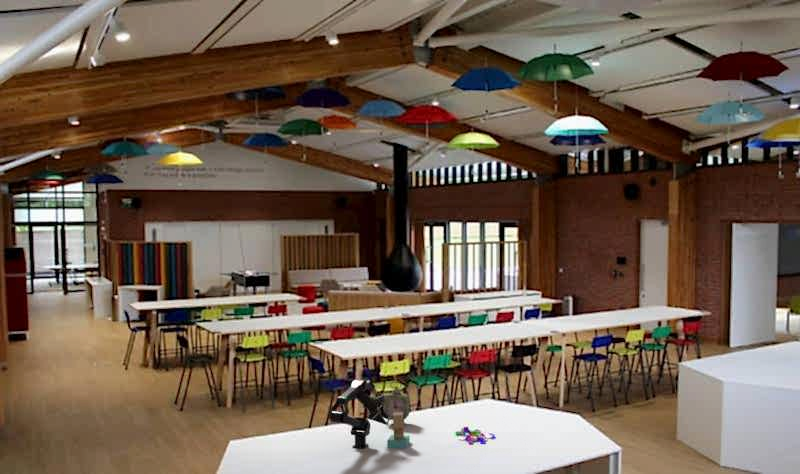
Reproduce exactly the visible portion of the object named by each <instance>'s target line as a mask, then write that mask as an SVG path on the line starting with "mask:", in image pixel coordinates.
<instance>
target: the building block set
mask: <svg viewBox="0 0 800 474" xmlns="http://www.w3.org/2000/svg"><path fill="white" fill-rule="evenodd" d="M454 434H456V435H455V436H459V435H460V436H459V437H458V441H462V440H464V441H465V442H466V441H467V444H468V443H469V444H468V445H473V442H475V441H476V442H479V443H480V445H486V444H487V443H486V442H488V441H489V440H495V439H496V436H495V434H494V433H482V432H481V430H479V429H473V430H471V429H469V426H462V427H460V429H458V430H456V431H454ZM464 435H465V436H464ZM463 436H464V437H463ZM473 436H478V437H473ZM465 437H466V438H465ZM489 438H491V439H489ZM465 439H466V440H465Z"/></svg>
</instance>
